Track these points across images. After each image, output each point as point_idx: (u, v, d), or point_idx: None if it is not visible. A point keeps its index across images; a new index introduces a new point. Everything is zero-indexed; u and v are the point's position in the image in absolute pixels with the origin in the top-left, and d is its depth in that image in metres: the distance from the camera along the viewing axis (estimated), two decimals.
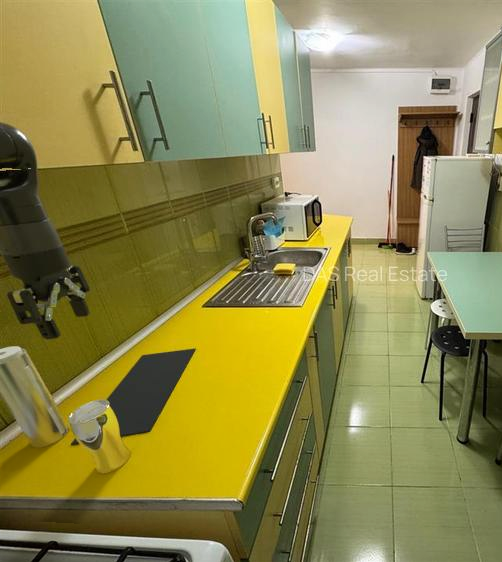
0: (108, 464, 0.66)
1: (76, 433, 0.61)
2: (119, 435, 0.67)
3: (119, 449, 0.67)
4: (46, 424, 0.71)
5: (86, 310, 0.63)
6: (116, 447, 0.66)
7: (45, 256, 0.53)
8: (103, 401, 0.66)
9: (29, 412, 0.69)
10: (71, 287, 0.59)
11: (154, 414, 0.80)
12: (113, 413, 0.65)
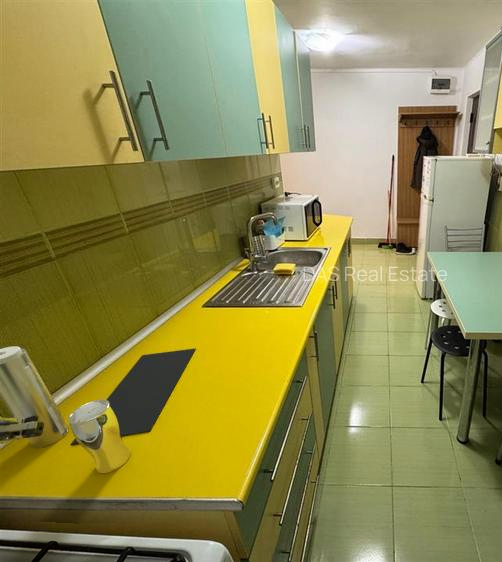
0: (108, 464, 0.66)
1: (76, 433, 0.61)
2: (119, 435, 0.67)
3: (119, 449, 0.67)
4: (46, 424, 0.71)
5: (31, 436, 0.50)
6: (115, 447, 0.66)
7: None
8: (103, 401, 0.66)
9: (29, 412, 0.69)
10: None
11: (154, 414, 0.80)
12: (113, 413, 0.65)
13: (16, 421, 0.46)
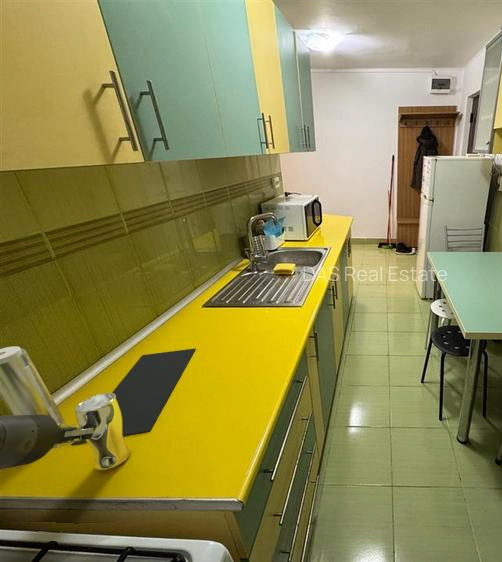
0: (108, 460, 0.66)
1: (81, 423, 0.62)
2: (121, 430, 0.68)
3: (120, 445, 0.67)
4: None
5: None
6: (117, 443, 0.67)
7: None
8: (110, 394, 0.68)
9: (29, 412, 0.69)
10: None
11: (154, 414, 0.80)
12: (118, 406, 0.67)
13: (75, 427, 0.57)
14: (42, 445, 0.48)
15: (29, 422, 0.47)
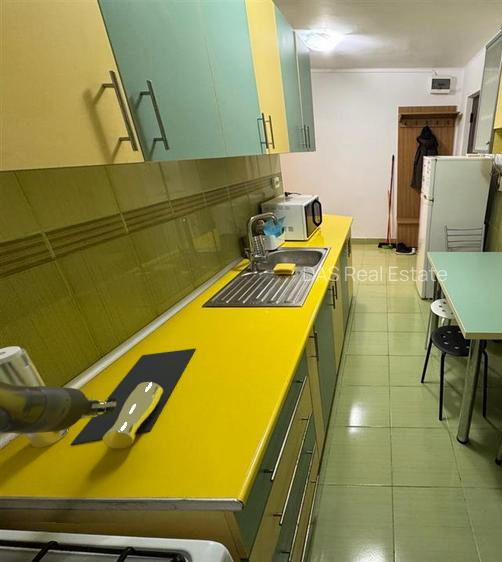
0: (123, 425, 0.71)
1: (136, 389, 0.79)
2: (147, 415, 0.77)
3: (138, 423, 0.74)
4: None
5: (105, 414, 0.67)
6: (139, 419, 0.74)
7: None
8: None
9: None
10: None
11: (154, 414, 0.80)
12: (159, 399, 0.82)
13: (99, 401, 0.64)
14: (74, 414, 0.55)
15: (64, 392, 0.54)
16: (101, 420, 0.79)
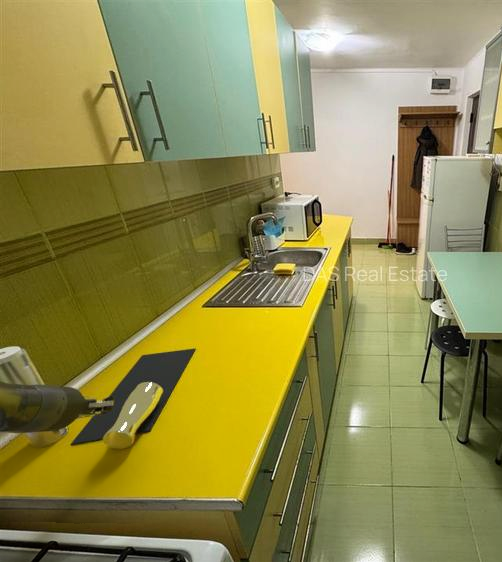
0: (123, 425, 0.71)
1: (136, 389, 0.79)
2: (147, 415, 0.77)
3: (138, 423, 0.74)
4: None
5: (103, 413, 0.66)
6: (139, 419, 0.74)
7: None
8: None
9: None
10: None
11: (154, 414, 0.80)
12: (159, 399, 0.82)
13: None
14: (70, 413, 0.54)
15: (60, 391, 0.53)
16: (101, 420, 0.79)
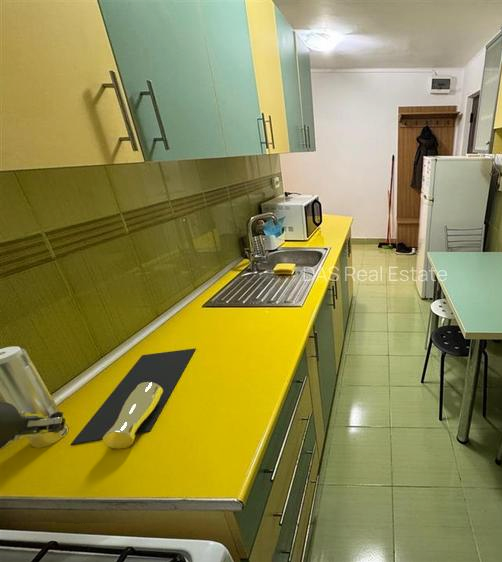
0: (123, 425, 0.71)
1: (136, 389, 0.79)
2: (147, 415, 0.77)
3: (138, 423, 0.74)
4: None
5: (54, 431, 0.55)
6: (139, 419, 0.74)
7: None
8: None
9: None
10: None
11: (154, 414, 0.80)
12: (159, 399, 0.82)
13: (42, 417, 0.52)
14: None
15: None
16: (101, 420, 0.79)
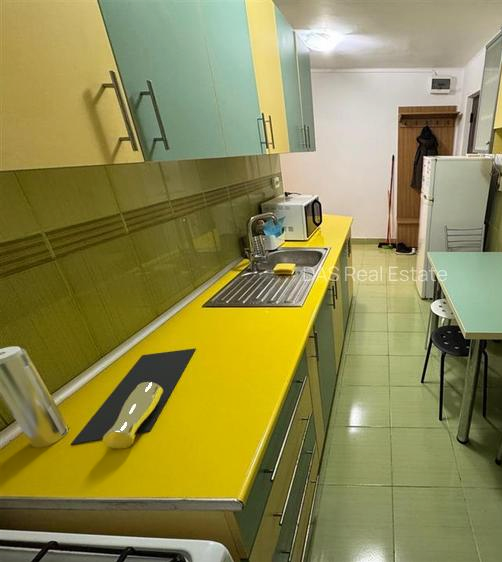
0: (123, 425, 0.71)
1: (136, 389, 0.79)
2: (147, 415, 0.77)
3: (138, 423, 0.74)
4: (46, 424, 0.71)
5: None
6: (139, 419, 0.74)
7: None
8: None
9: (29, 413, 0.69)
10: None
11: (154, 414, 0.80)
12: (159, 399, 0.82)
13: None
14: None
15: None
16: (101, 420, 0.79)
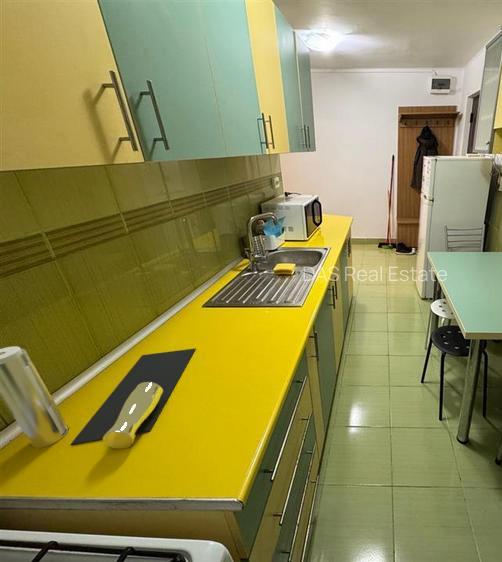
0: (123, 425, 0.71)
1: (136, 389, 0.79)
2: (147, 415, 0.77)
3: (138, 423, 0.74)
4: (46, 424, 0.71)
5: None
6: (139, 419, 0.74)
7: None
8: None
9: (29, 413, 0.69)
10: None
11: (154, 414, 0.80)
12: (159, 399, 0.82)
13: None
14: None
15: None
16: (101, 420, 0.79)
